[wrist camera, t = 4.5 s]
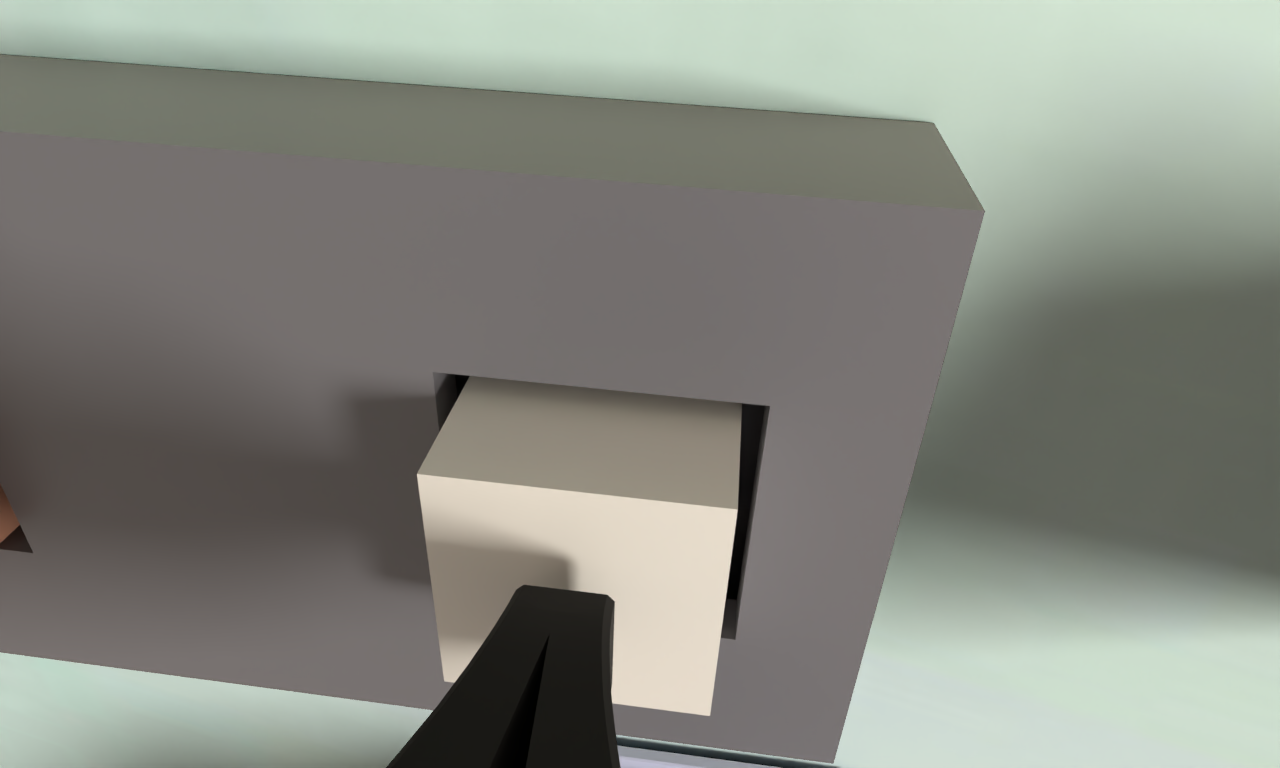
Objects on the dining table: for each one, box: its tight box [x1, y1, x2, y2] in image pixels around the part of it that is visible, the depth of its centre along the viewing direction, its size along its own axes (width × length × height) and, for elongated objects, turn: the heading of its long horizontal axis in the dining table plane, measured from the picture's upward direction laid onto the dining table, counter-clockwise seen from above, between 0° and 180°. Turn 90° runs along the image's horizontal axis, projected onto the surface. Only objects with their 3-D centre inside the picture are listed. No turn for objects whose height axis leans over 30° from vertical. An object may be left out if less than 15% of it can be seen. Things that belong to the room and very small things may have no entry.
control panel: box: [0, 54, 985, 763], centre depth 17 cm, size 12×24×4 cm, turn 88°
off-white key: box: [417, 376, 742, 716], centre depth 14 cm, size 4×4×3 cm
